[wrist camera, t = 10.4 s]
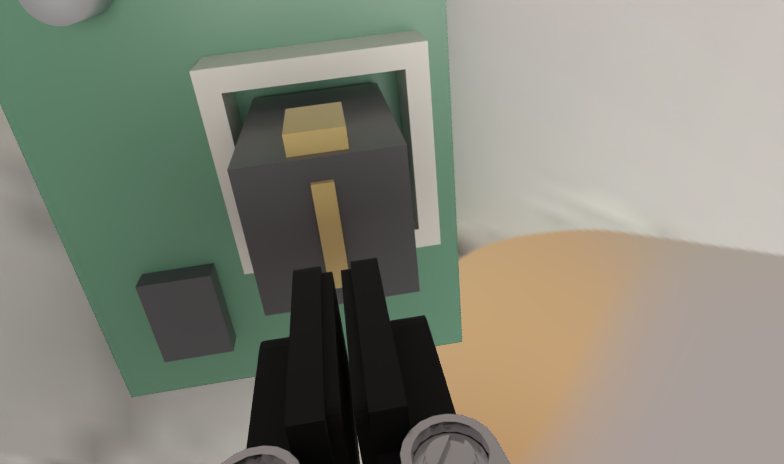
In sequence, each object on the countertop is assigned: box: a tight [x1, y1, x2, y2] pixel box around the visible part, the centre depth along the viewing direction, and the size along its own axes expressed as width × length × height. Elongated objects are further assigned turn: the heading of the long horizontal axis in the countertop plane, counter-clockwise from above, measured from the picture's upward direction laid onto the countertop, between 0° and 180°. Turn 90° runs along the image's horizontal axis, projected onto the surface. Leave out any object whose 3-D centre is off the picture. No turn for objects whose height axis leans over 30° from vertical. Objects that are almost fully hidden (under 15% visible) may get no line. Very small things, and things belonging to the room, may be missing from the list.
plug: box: [227, 83, 420, 316], centre depth 18 cm, size 5×4×7 cm
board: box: [0, 0, 462, 397], centre depth 21 cm, size 22×16×4 cm
